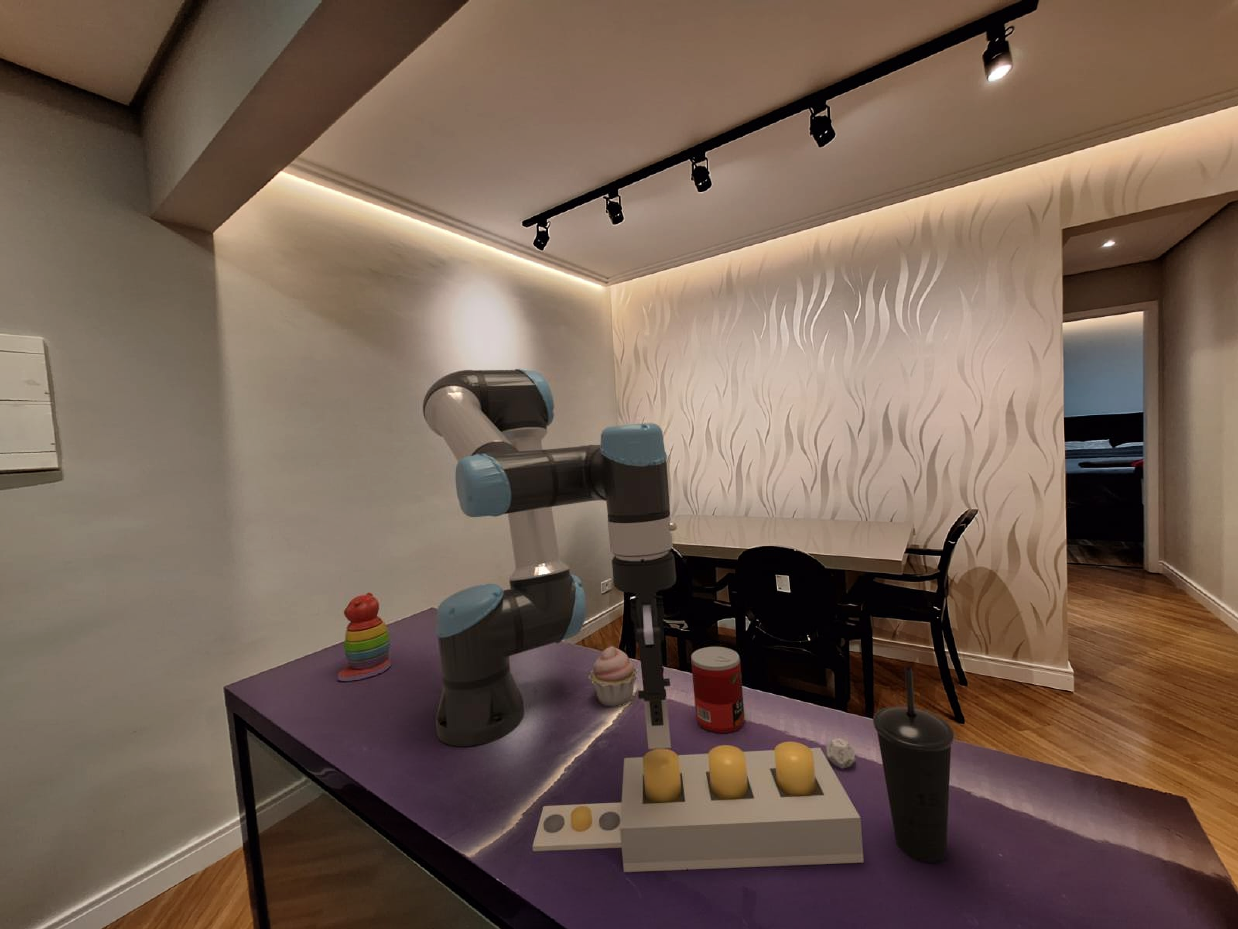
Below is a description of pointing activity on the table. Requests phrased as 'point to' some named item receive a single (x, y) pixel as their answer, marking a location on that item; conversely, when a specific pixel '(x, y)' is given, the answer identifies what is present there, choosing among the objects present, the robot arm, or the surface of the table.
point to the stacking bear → (365, 637)
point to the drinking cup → (916, 775)
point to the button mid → (728, 772)
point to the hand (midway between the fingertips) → (659, 744)
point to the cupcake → (613, 677)
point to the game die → (840, 753)
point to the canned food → (718, 689)
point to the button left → (662, 776)
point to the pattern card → (579, 827)
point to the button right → (795, 769)
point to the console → (737, 820)
